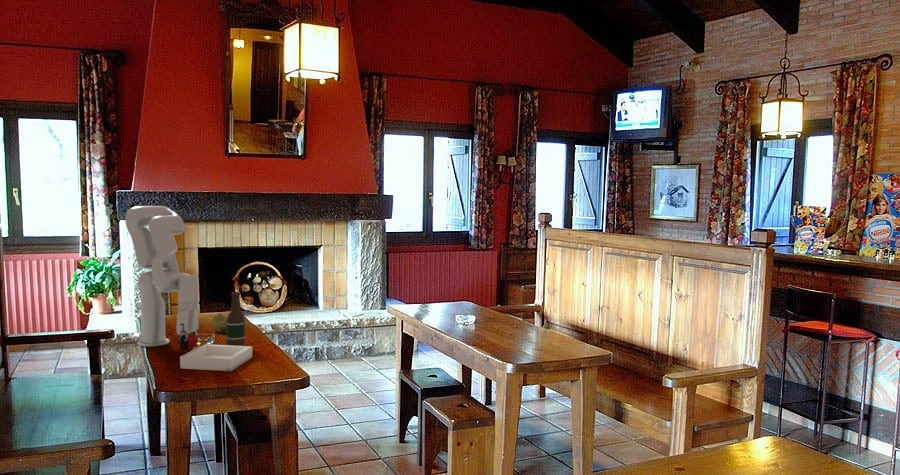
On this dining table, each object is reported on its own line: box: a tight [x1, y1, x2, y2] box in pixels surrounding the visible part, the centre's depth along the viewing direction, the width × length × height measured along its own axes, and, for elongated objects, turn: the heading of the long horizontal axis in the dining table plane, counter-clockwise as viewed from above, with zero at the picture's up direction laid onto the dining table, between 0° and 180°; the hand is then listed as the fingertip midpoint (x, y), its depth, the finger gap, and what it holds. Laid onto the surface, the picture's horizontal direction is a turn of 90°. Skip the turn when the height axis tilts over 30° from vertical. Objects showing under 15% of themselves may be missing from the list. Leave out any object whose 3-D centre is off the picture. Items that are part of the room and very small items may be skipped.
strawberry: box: [178, 333, 199, 354], centre depth 269 cm, size 6×8×10 cm
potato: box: [211, 313, 228, 334], centre depth 309 cm, size 8×13×8 cm, turn 26°
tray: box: [179, 343, 253, 372], centre depth 255 cm, size 20×20×4 cm
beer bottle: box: [225, 291, 246, 346], centre depth 279 cm, size 8×8×24 cm
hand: (188, 347), depth 269 cm, fingers closed on strawberry, 6 cm apart
